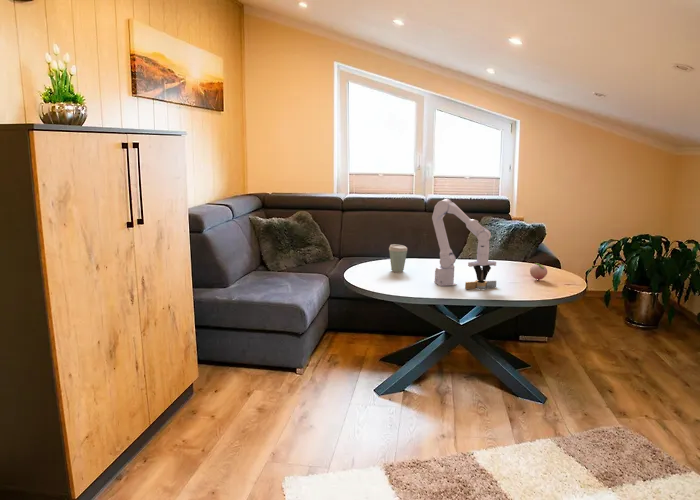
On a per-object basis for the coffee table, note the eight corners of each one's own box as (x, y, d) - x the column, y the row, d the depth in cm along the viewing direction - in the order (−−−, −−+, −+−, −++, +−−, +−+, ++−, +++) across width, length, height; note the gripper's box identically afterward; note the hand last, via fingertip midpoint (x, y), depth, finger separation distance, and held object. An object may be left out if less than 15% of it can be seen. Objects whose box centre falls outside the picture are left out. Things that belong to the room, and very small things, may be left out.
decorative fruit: (525, 278, 304) (527, 260, 302) (538, 277, 306) (539, 260, 304) (536, 283, 295) (537, 264, 293) (549, 282, 297) (550, 263, 295)
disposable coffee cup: (406, 269, 320) (407, 244, 316) (406, 274, 309) (407, 247, 306) (388, 268, 321) (389, 243, 317) (387, 273, 310) (388, 247, 307)
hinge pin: (479, 286, 281) (480, 270, 280) (477, 284, 284) (478, 269, 282) (484, 285, 282) (485, 270, 280) (481, 284, 284) (482, 269, 283)
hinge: (467, 290, 278) (468, 283, 278) (463, 287, 284) (463, 280, 283) (498, 288, 282) (498, 282, 282) (493, 285, 288) (493, 279, 287)
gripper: (473, 255, 274) (471, 282, 277) (499, 254, 277) (498, 281, 280) (467, 252, 281) (465, 278, 283) (493, 251, 284) (491, 277, 287)
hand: (481, 279), depth 282 cm, fingers closed on hinge pin, 2 cm apart
